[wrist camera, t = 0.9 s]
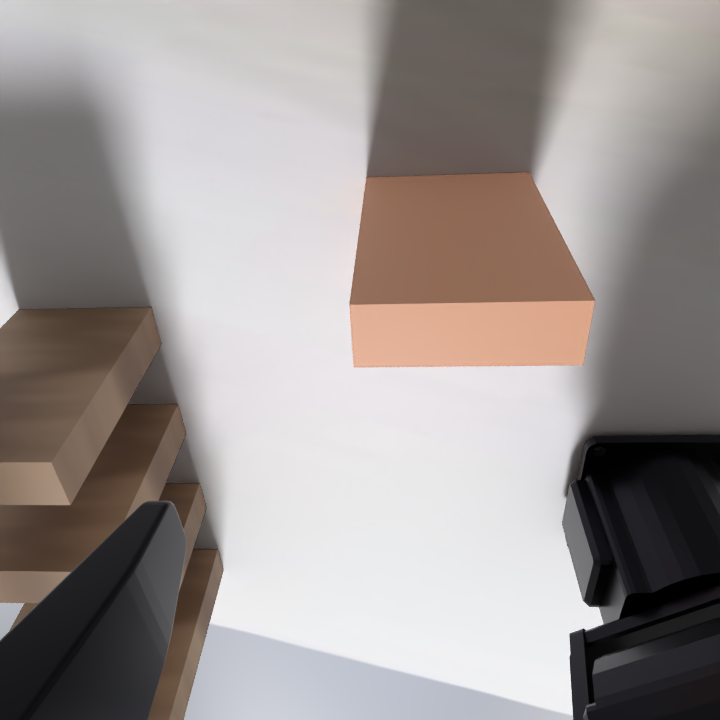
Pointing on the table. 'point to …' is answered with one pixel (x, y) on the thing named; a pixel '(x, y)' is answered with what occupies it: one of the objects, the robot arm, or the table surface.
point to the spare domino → (464, 276)
